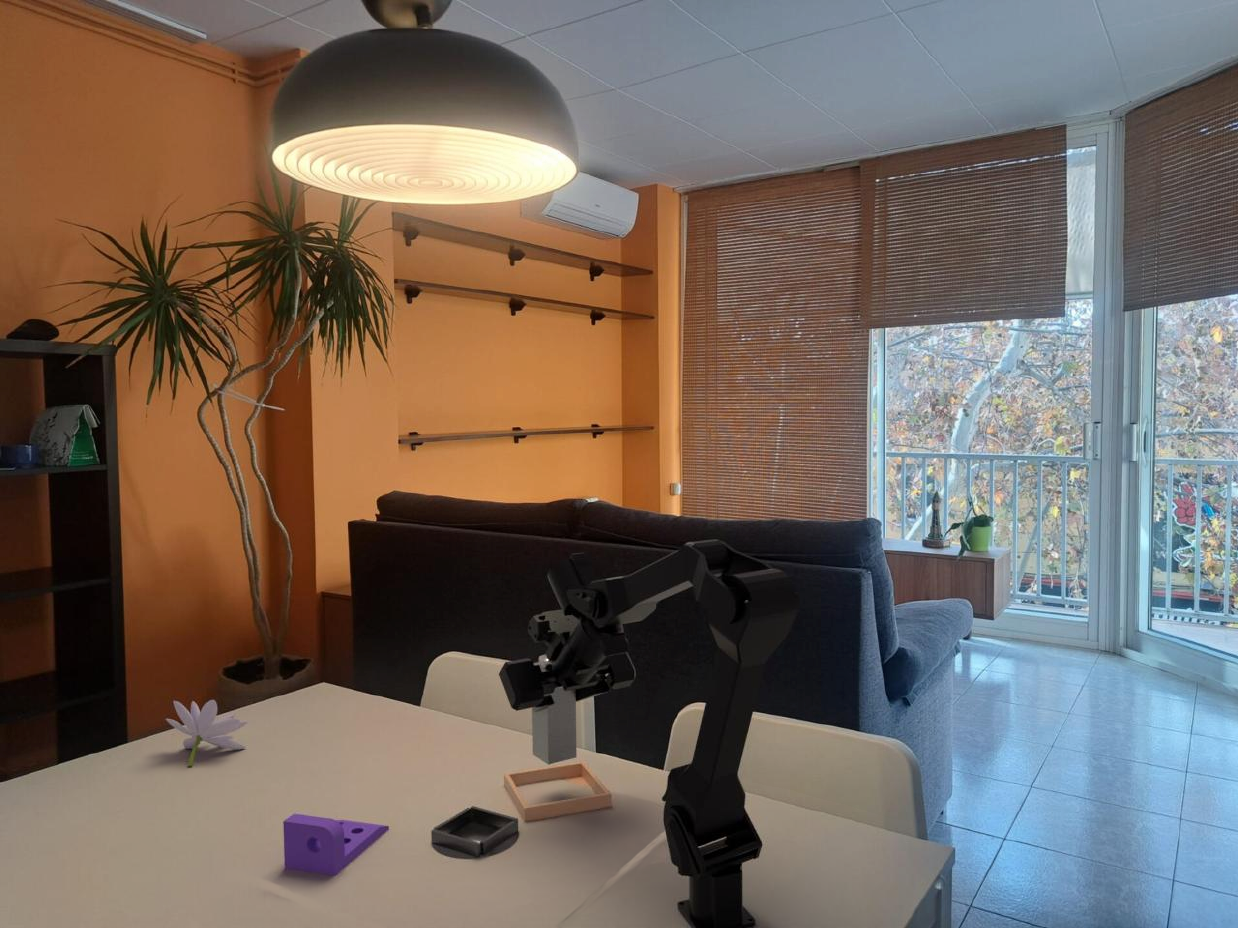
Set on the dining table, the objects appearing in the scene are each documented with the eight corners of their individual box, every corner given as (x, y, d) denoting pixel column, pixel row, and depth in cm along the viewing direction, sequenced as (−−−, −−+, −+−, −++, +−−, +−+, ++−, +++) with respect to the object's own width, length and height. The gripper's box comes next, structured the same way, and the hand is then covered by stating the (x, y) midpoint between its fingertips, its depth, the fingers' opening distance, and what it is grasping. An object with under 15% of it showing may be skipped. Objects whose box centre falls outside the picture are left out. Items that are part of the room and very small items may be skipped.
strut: (576, 757, 123) (575, 658, 122) (548, 764, 120) (546, 663, 119) (560, 747, 126) (558, 651, 126) (532, 754, 124) (531, 656, 123)
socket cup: (536, 834, 114) (535, 816, 113) (481, 873, 104) (481, 853, 104) (470, 816, 119) (470, 798, 119) (412, 850, 110) (412, 832, 110)
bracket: (335, 885, 103) (333, 828, 102) (285, 877, 105) (283, 821, 104) (389, 837, 114) (387, 785, 114) (342, 830, 116) (341, 780, 116)
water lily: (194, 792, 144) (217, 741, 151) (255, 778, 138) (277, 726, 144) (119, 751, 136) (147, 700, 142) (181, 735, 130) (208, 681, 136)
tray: (611, 811, 120) (611, 793, 120) (524, 826, 116) (524, 808, 116) (584, 777, 131) (583, 761, 131) (504, 790, 127) (503, 773, 127)
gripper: (623, 586, 124) (584, 647, 134) (503, 603, 113) (470, 667, 123) (656, 653, 118) (613, 712, 127) (533, 677, 107) (496, 739, 117)
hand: (549, 705), depth 124 cm, fingers closed on strut, 4 cm apart
